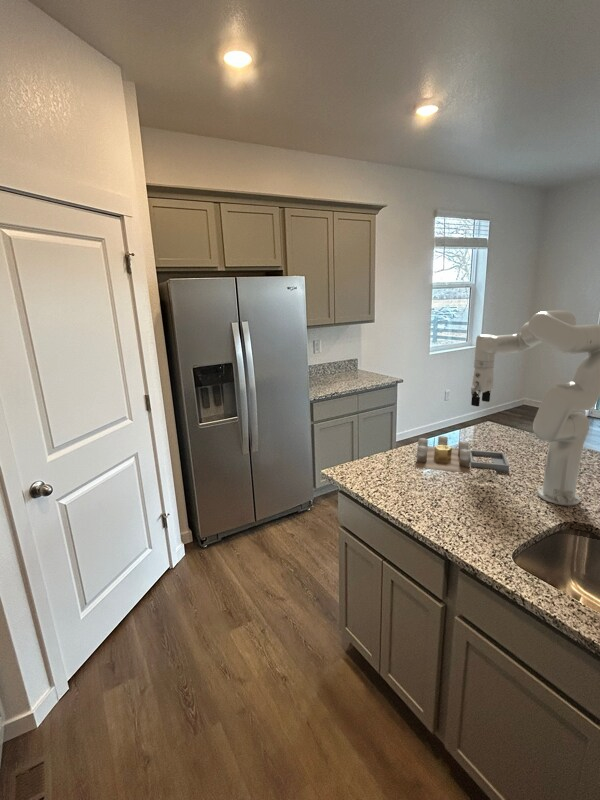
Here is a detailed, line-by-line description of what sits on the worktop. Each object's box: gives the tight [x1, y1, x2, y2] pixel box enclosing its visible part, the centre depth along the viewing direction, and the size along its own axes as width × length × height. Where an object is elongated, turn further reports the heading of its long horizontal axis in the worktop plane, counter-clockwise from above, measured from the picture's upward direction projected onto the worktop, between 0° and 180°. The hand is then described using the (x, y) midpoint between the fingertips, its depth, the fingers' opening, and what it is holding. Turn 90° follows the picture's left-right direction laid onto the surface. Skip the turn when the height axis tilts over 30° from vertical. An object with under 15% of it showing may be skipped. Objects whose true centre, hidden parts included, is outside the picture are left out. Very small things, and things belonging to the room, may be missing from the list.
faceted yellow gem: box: [434, 444, 453, 461], centre depth 169 cm, size 7×6×5 cm
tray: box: [468, 449, 510, 473], centre depth 164 cm, size 14×14×3 cm
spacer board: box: [416, 435, 471, 474], centre depth 169 cm, size 26×21×7 cm
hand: (480, 403), depth 167 cm, fingers open, 9 cm apart
